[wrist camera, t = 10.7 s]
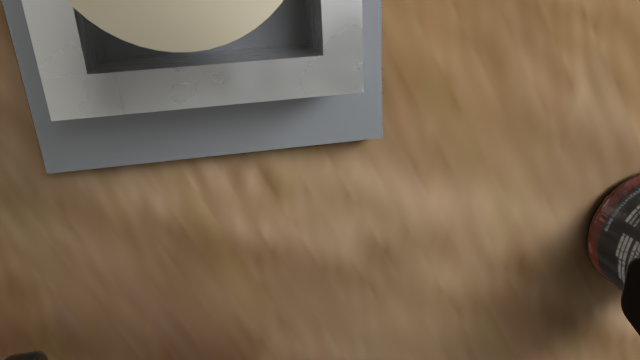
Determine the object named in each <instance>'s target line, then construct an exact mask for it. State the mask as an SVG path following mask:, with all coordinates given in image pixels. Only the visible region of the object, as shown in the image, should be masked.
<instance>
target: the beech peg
mask: <svg viewBox="0 0 640 360" xmlns="http://www.w3.org/2000/svg"><path fill="white" fill-rule="evenodd" d="M67 1H68V2H69V4H70V5H71V6H72V7H73V8H75V9H76V10H77V11H78V12H79V13H80V14H82V15H83V16H84V17H85V18H86V19H88V20H89V21H90V22H92V23H93V24H95V25H96V26H98V27H99V28H101V29H102V30H104V31H106V32H108V33H109V34H111V35H113V36H115V37H117V38H119V39H121V40H124V41H126V42H129V43H132V44H135V45H137V46H140V47H144V48H149V49H153V50H157V51H166V52H196V51H202V50H209V49H212V48H216V47H219V46H222V45H226V44H228V43H230V42H232V41H235V40H237V39H239V38H241V37H243V36H244V35H246V34H248V33H249V32H251V31H252V30H254V29H256V28H257V27H258V26H259V25H260V24H262V23H263V22H264V21H265V20H266V19H267V18H269V17H270V15H271V14H272V13H273V12H274V11H275V10H276V9H277V8H278V7H279V6H280V4H281V3H282V1H283V0H67Z"/></svg>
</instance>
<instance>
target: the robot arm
mask: <svg viewBox="0 0 640 360" xmlns="http://www.w3.org/2000/svg"><path fill="white" fill-rule="evenodd" d="M621 307H622V310H623V313H624V315H625V316H626V318H627V319H628V321H629V322H630V323H631V325H632V326H633V327H634V329H635V330H636V331H637V333H638V334H639V335H640V257H636V258H634V259H632V260H631V261H630V262H629V264H628V266H627V271H626V276H625V281H624V286H623V291H622V296H621ZM5 360H48V358H47V356H46V355H45V353H43V352H41V351H34V352H27V353H21V354H15V355H11V356H9V357H7V358H6V359H5Z"/></svg>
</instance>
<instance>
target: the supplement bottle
mask: <svg viewBox="0 0 640 360" xmlns="http://www.w3.org/2000/svg"><path fill="white" fill-rule="evenodd" d="M588 252H589V255H590V258H591V261H592V263H593V265H594V266H595V268H596V269H597V270H598V271H599V272H600V273H601V274H602V275H603V276H604V277H605V278H607V279H608V280H609V281H610V282H612V283H613V284H614V285H615V286H617V287H618V288H619V289H621V290H622V291H623V286H624V281H625V276H626V271H627V266H628V264H629V262H630V261H631V260H632V259H634V258H636V257H640V174H638V175H636V176H634V177H632V178H631V179H628V180H626V181H625V182H623V183H622V184H620V185H619V186H618V187H617V188H616V189H614V190H613V191H612V192H611V193H610V194H609V195H608V196H606V197H605V199H604V201H603V202H602V203H601V205H600V207H599V208H598V210H597V212H596V213H595V215H594V218H593V220H592V222H591V225H590V229H589V234H588Z"/></svg>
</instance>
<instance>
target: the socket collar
mask: <svg viewBox="0 0 640 360" xmlns="http://www.w3.org/2000/svg"><path fill="white" fill-rule="evenodd" d="M21 1H22V5H23V9H24V13H25V17H26V21H27V25H28V29H29V33H30V37H31V41H32V45H33V49H34V53H35V57H36V61H37V65H38V69H39V73H40V77H41V82H42V86H43V90H44V94H45V98H46V102H47V106H48V110H49V114H50V118H51V121H60V120H71V119H81V118H92V117H103V116H114V115H125V114H135V113H146V112H157V111H168V110H179V109H189V108H200V107H211V106H222V105H233V104H243V103H254V102H265V101H276V100H287V99H297V98H308V97H319V96H330V95H341V94H351V93H362V92H364V72H363V20H362V0H304V6H305V24H306V41H307V44H294V45H281V46H268V47H255V48H242V49H228V50H215V51H202V52H189V53H176V54H163V55H150V56H136V57H123V58H110V59H107V54H106V49H105V44H104V39H103V34H102V29H101V28H99V27H98V26H96V25H95V24H93V23H92V22H90V21H89V20H88V19H86V18H85V17H84V16H83V15H82V14H80V13H79V12H78V11H77V10H76V9H75V8H73V7H72V6H71V5H70V4H69V2H68V1H67V0H21Z"/></svg>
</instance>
